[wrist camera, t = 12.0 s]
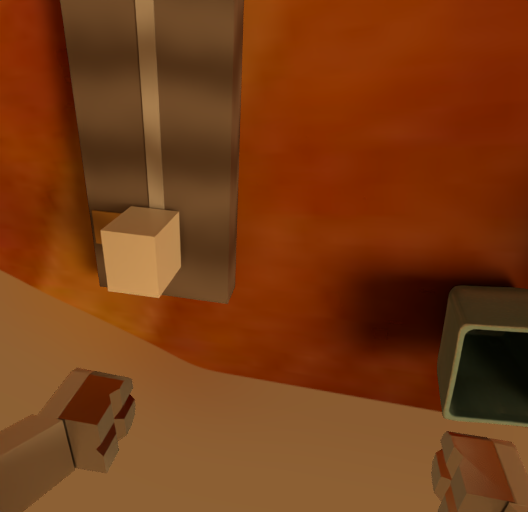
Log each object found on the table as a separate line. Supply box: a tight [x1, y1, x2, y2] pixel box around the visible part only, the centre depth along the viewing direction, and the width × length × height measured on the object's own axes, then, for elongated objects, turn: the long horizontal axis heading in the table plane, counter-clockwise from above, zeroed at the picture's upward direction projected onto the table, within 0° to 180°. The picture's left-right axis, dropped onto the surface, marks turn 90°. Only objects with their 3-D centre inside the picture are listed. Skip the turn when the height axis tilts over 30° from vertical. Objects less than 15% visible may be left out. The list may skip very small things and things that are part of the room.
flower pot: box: [437, 285, 528, 427], centre depth 33 cm, size 9×9×9 cm
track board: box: [60, 0, 244, 304], centre depth 33 cm, size 26×12×3 cm, turn 176°
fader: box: [100, 206, 181, 298], centre depth 33 cm, size 5×4×5 cm
